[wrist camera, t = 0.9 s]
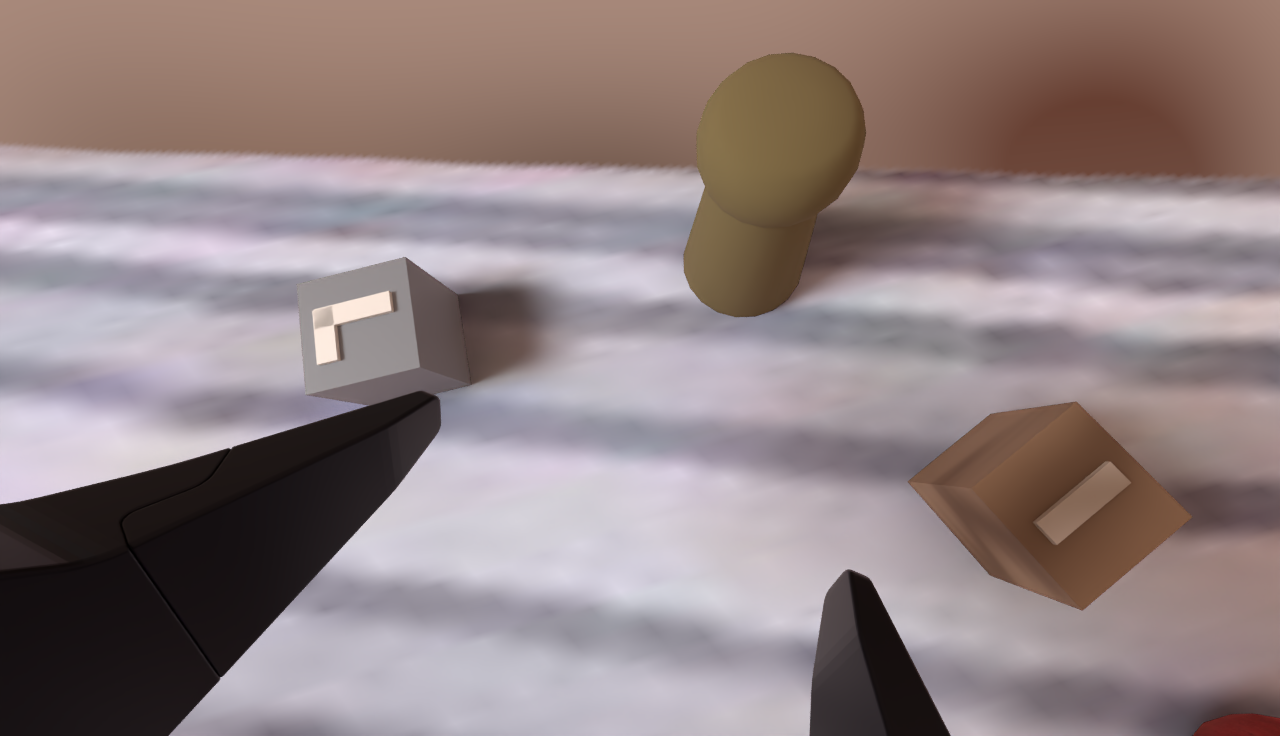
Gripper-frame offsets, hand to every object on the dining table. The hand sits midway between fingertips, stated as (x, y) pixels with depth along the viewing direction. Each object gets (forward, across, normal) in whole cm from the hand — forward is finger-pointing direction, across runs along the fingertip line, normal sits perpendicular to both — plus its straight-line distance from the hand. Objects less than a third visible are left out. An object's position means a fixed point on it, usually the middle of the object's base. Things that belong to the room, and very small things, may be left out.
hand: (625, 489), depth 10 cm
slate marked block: (+10, +14, +8) cm, 19 cm away
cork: (+18, 0, +1) cm, 18 cm away
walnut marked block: (+13, -14, +6) cm, 20 cm away
